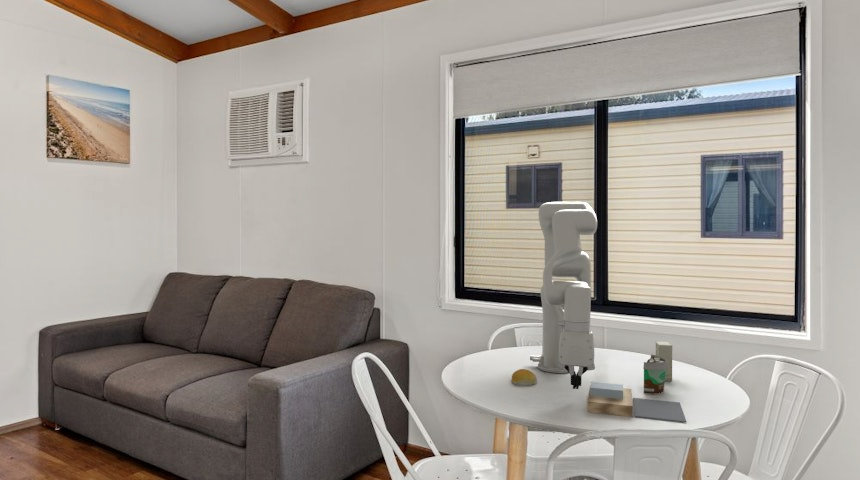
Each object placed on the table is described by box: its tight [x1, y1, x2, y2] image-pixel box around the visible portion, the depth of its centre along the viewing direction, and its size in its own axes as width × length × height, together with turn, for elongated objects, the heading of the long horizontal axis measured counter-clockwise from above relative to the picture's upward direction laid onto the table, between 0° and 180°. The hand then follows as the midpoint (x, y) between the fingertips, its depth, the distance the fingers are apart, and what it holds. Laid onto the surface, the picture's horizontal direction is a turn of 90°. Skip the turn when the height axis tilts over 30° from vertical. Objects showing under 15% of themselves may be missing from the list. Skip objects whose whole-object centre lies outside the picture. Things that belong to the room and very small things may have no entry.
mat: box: [632, 397, 687, 423], centre depth 158 cm, size 13×16×1 cm
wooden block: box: [586, 384, 634, 418], centre depth 162 cm, size 12×16×3 cm
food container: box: [643, 354, 668, 395], centre depth 176 cm, size 12×6×10 cm, turn 148°
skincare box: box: [655, 340, 673, 382], centre depth 189 cm, size 6×4×12 cm
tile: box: [589, 381, 624, 399], centre depth 162 cm, size 9×6×2 cm, turn 72°
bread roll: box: [510, 368, 537, 387], centre depth 184 cm, size 8×9×4 cm
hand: (575, 387), depth 165 cm, fingers closed
